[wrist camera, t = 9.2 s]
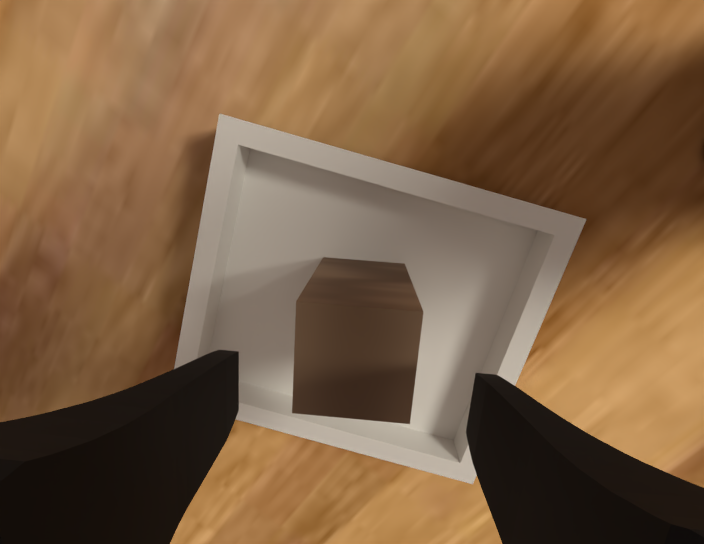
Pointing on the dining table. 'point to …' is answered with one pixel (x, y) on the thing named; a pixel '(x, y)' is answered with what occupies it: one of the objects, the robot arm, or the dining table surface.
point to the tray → (371, 245)
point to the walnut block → (357, 341)
